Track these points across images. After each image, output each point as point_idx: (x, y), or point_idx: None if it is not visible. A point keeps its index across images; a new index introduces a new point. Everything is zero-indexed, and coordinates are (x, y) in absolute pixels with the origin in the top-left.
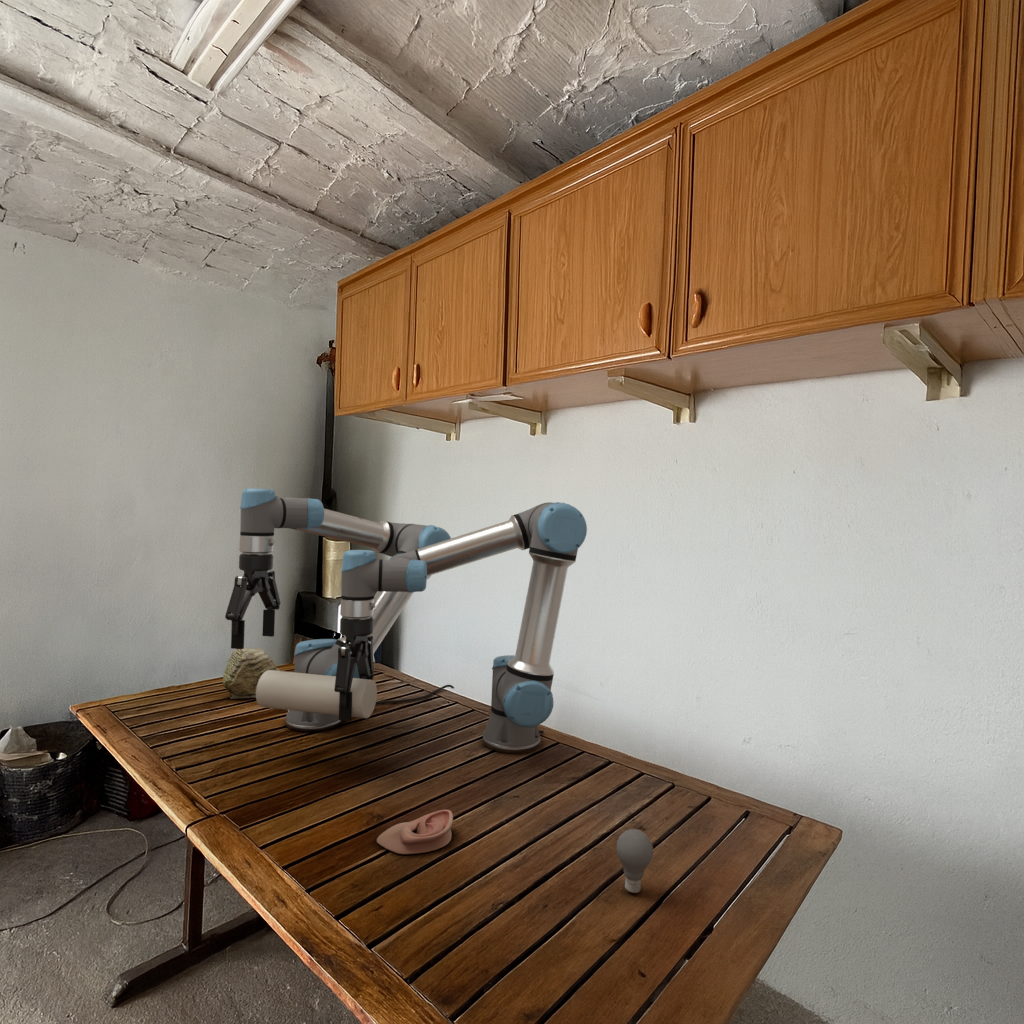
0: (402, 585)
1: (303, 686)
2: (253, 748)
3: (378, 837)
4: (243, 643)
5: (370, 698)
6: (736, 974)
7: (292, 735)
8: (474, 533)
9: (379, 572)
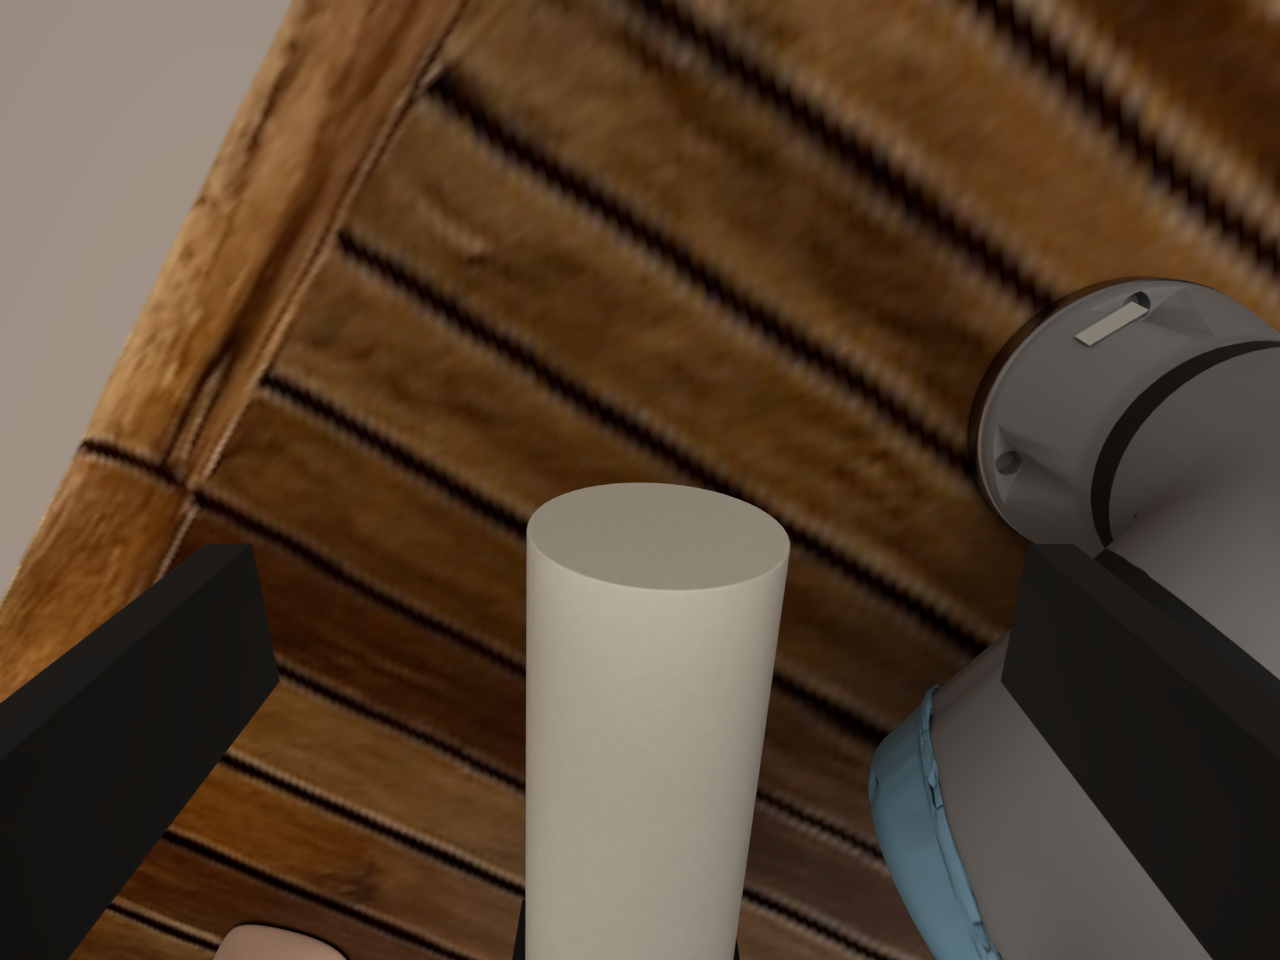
0: None
1: (540, 854)
2: (743, 299)
3: (244, 932)
4: (232, 725)
5: None
6: None
7: (927, 394)
8: None
9: None
